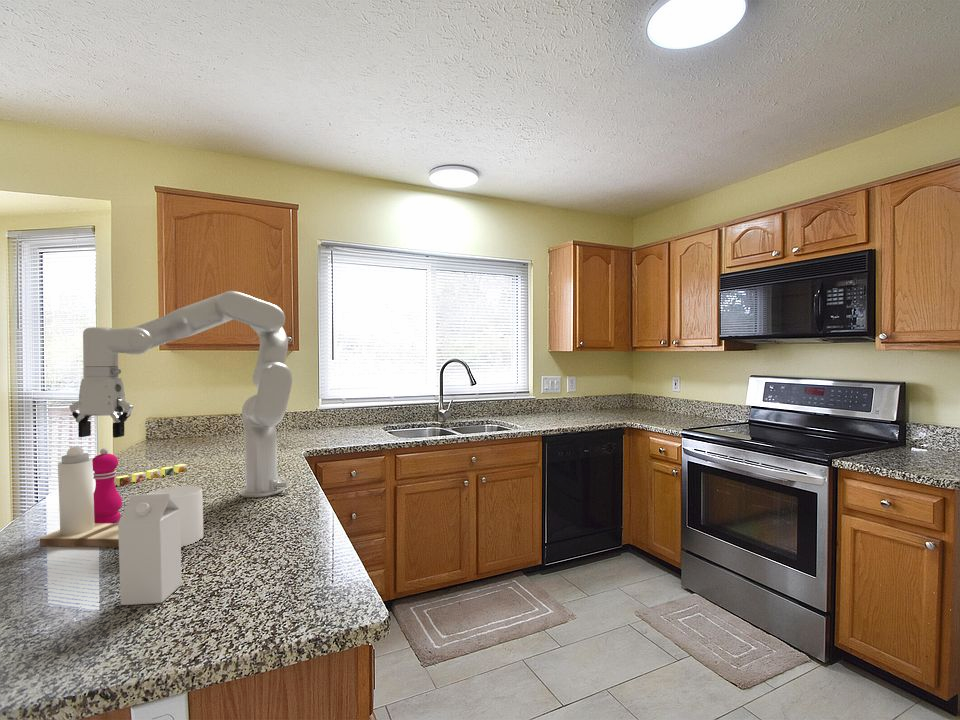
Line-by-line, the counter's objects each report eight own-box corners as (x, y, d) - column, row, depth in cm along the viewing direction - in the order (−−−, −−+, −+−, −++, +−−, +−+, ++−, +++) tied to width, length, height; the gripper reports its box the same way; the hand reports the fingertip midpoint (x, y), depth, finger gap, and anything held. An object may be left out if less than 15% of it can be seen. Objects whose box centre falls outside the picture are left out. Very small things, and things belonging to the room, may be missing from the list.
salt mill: (101, 525, 126) (98, 443, 125) (78, 535, 119) (75, 449, 119) (76, 525, 126) (74, 443, 126) (52, 535, 119) (49, 449, 119)
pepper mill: (129, 518, 137) (126, 446, 137) (101, 527, 130) (99, 451, 130) (110, 516, 139) (108, 445, 139) (82, 524, 133) (80, 450, 132)
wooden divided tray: (158, 531, 126) (157, 523, 126) (127, 547, 116) (127, 538, 116) (76, 530, 128) (76, 523, 128) (39, 546, 118) (39, 537, 118)
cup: (143, 554, 112) (141, 501, 112) (149, 537, 122) (148, 489, 122) (202, 544, 117) (201, 494, 117) (204, 529, 128) (203, 482, 127)
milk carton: (143, 587, 96) (140, 489, 96) (182, 585, 97) (179, 488, 96) (120, 606, 89) (117, 500, 89) (161, 603, 90) (158, 499, 89)
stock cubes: (86, 484, 176) (86, 475, 176) (180, 466, 203) (180, 457, 203) (130, 497, 159) (129, 487, 159) (226, 475, 186) (225, 466, 186)
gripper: (142, 372, 137) (142, 434, 137) (83, 372, 138) (83, 434, 138) (120, 373, 130) (121, 439, 130) (58, 373, 131) (58, 438, 131)
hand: (101, 436), depth 134 cm, fingers open, 9 cm apart
